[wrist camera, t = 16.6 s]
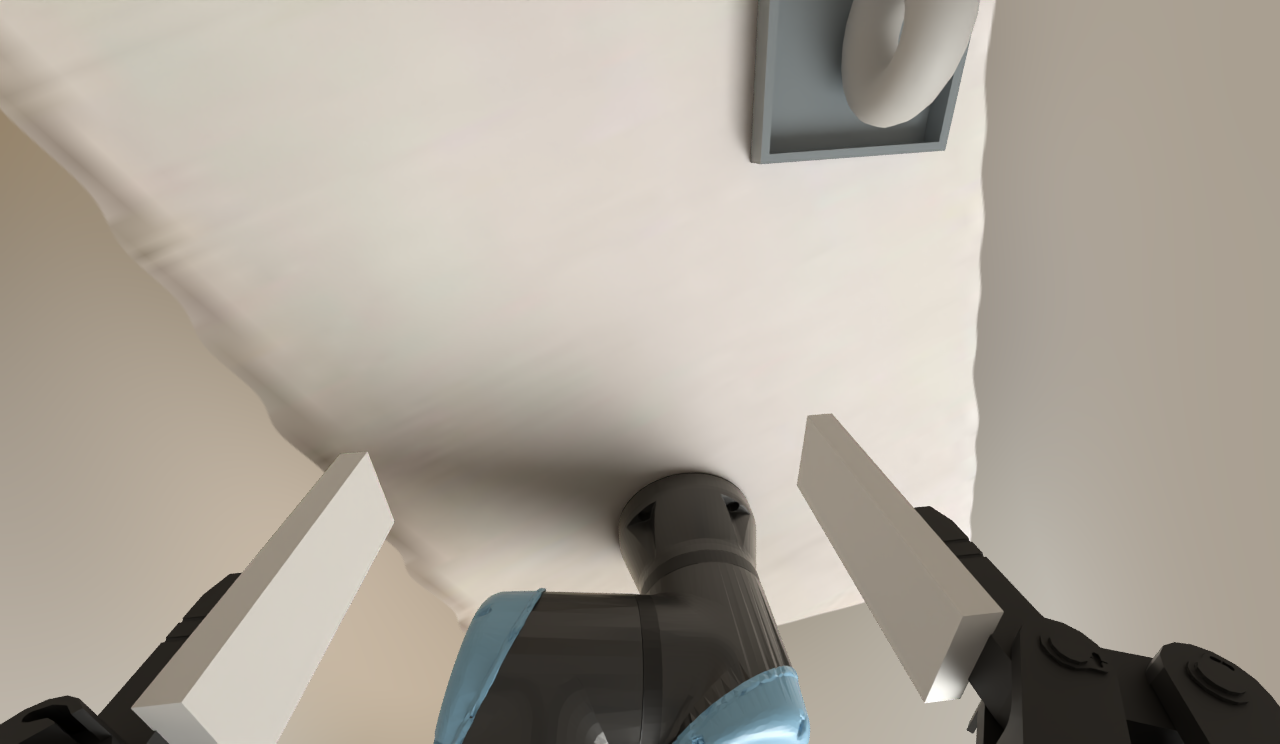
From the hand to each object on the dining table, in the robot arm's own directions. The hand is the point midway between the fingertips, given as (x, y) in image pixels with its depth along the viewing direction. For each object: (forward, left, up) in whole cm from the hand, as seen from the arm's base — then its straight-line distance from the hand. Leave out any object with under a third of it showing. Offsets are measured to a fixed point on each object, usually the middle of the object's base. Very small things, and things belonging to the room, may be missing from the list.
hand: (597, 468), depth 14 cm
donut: (+13, -19, -26) cm, 35 cm away
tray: (+13, -19, -26) cm, 35 cm away
